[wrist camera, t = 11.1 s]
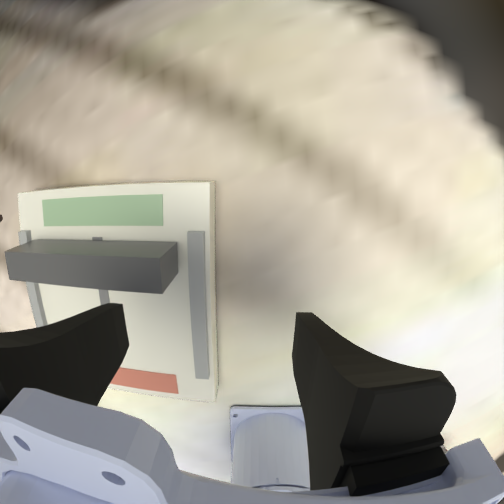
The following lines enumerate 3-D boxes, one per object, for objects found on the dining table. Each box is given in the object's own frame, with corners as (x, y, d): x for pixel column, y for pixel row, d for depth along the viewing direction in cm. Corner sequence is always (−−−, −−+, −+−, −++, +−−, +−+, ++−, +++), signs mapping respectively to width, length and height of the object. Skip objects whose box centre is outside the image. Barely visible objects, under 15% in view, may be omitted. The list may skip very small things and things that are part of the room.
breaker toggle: (178, 272, 19) (162, 294, 16) (37, 264, 19) (9, 279, 16) (177, 242, 19) (159, 258, 15) (34, 239, 19) (4, 251, 15)
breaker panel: (218, 383, 25) (214, 407, 22) (65, 361, 25) (51, 378, 22) (215, 181, 20) (208, 182, 17) (35, 190, 21) (13, 194, 18)
